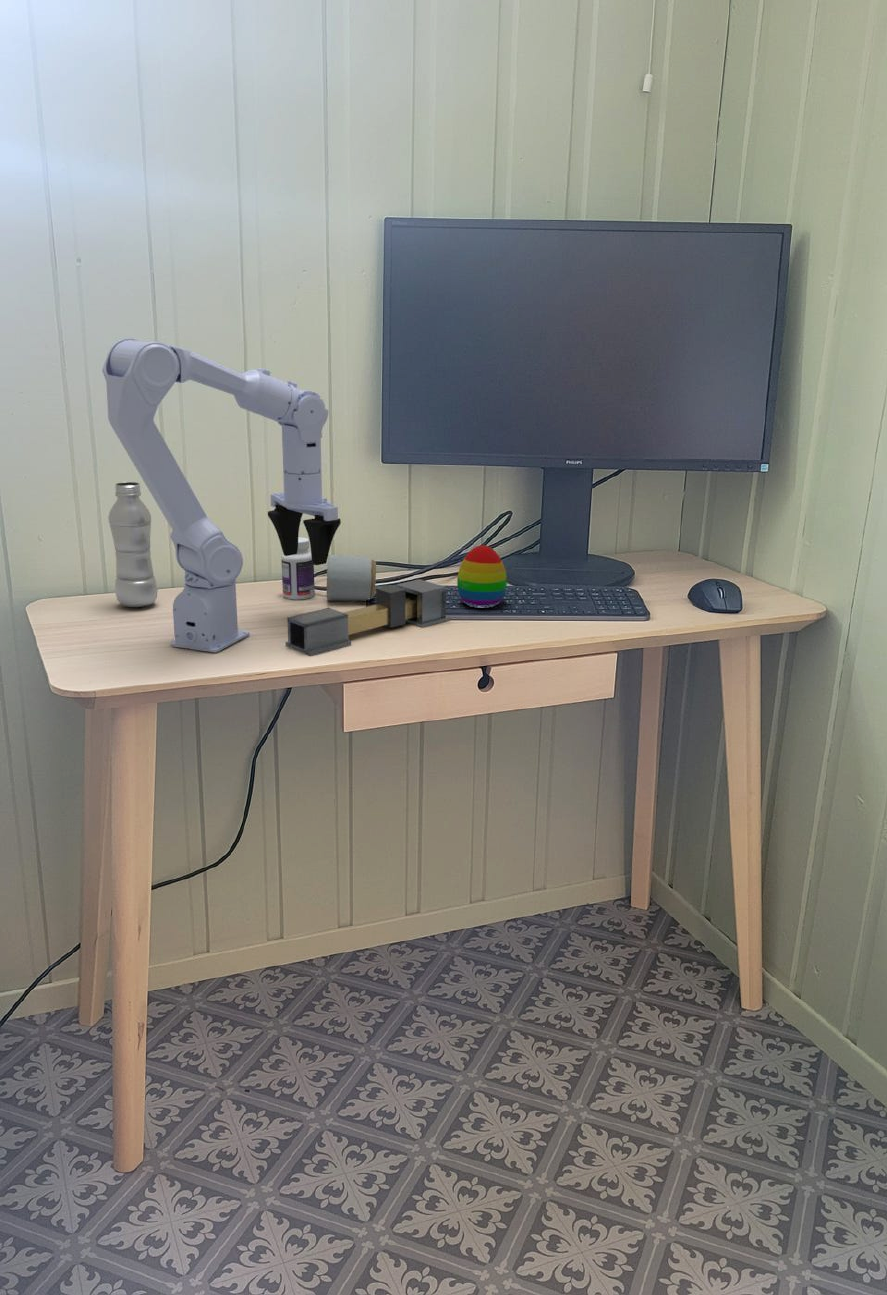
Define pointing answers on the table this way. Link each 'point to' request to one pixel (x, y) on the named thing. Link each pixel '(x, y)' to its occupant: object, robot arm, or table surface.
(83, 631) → the table surface
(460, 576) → the decorative egg
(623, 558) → the table surface
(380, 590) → the two-tone block
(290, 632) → the steel sleeve
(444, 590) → the grey square bracket
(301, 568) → the pill bottle
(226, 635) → the robot arm
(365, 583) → the ceramic mug
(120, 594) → the plastic bottle
